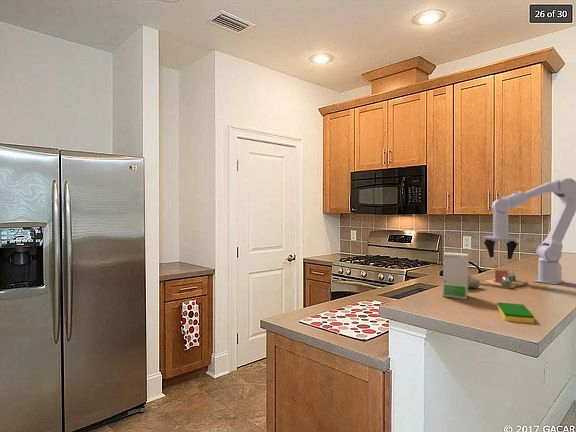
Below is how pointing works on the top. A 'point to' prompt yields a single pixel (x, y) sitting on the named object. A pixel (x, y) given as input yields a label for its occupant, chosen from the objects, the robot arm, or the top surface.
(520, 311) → the dish sponge
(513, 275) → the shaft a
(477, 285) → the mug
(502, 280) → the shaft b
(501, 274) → the reddish brown block
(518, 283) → the base board
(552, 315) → the top surface
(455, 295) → the skincare box
